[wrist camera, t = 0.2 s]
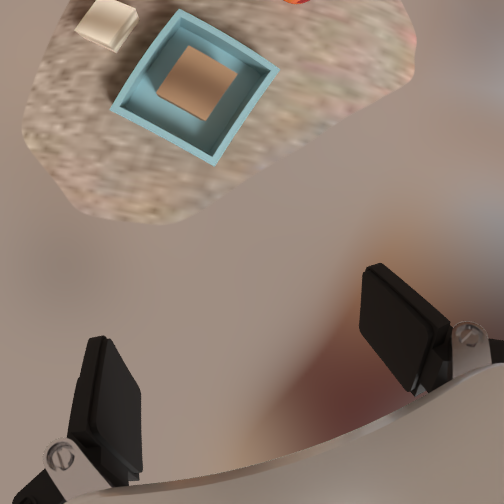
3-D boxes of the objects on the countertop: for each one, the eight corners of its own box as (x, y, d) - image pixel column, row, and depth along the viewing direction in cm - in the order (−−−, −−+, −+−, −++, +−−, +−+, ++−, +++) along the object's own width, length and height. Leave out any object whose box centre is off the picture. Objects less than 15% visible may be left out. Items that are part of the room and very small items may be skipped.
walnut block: (186, 56, 30) (188, 45, 25) (228, 80, 33) (237, 74, 28) (158, 96, 32) (155, 93, 27) (200, 120, 34) (205, 120, 29)
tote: (178, 20, 28) (179, 8, 24) (268, 73, 34) (280, 69, 30) (116, 110, 32) (109, 109, 28) (210, 160, 37) (214, 166, 33)
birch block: (108, 7, 25) (100, -6, 21) (139, 20, 27) (135, 8, 23) (85, 39, 26) (74, 30, 22) (116, 53, 28) (108, 44, 24)
